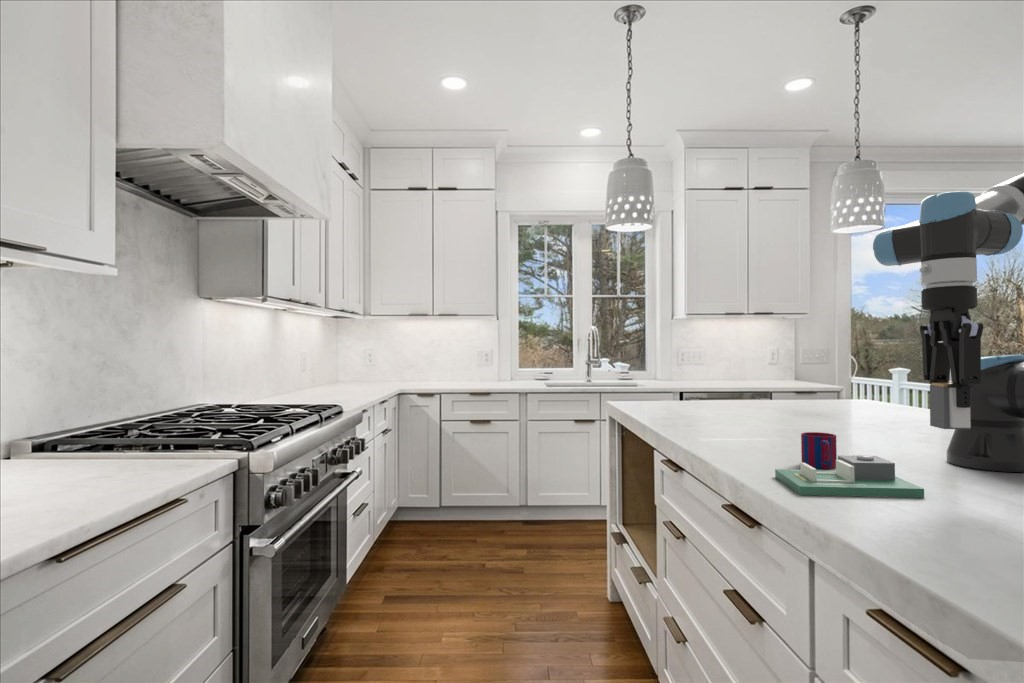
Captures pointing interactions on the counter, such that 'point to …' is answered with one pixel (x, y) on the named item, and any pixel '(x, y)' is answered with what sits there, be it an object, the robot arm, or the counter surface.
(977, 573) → the counter surface
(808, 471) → the board
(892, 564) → the counter surface
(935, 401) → the grey upright block
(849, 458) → the grey box with tab
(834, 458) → the mug
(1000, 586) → the counter surface
